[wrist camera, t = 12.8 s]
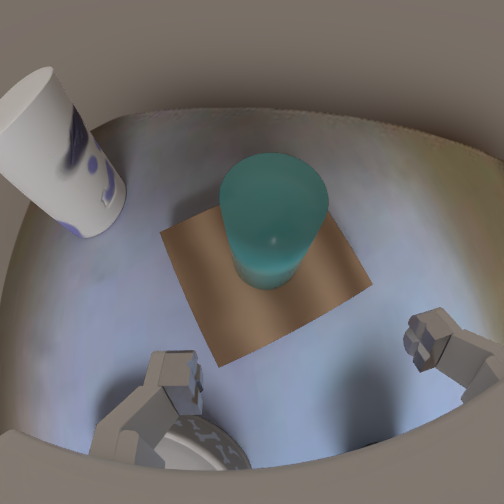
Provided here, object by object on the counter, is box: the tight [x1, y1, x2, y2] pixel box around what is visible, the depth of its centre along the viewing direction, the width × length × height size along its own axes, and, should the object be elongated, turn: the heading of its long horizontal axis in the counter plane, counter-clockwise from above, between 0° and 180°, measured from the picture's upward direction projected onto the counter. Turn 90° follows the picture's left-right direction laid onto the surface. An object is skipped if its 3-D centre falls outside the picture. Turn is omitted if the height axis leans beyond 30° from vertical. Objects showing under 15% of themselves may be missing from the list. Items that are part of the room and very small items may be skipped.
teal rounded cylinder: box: [219, 153, 328, 290], centre depth 20 cm, size 6×6×11 cm
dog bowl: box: [154, 415, 252, 471], centre depth 19 cm, size 17×18×5 cm
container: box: [0, 67, 126, 238], centre depth 22 cm, size 10×10×20 cm
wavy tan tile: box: [160, 205, 373, 367], centre depth 27 cm, size 16×14×4 cm
